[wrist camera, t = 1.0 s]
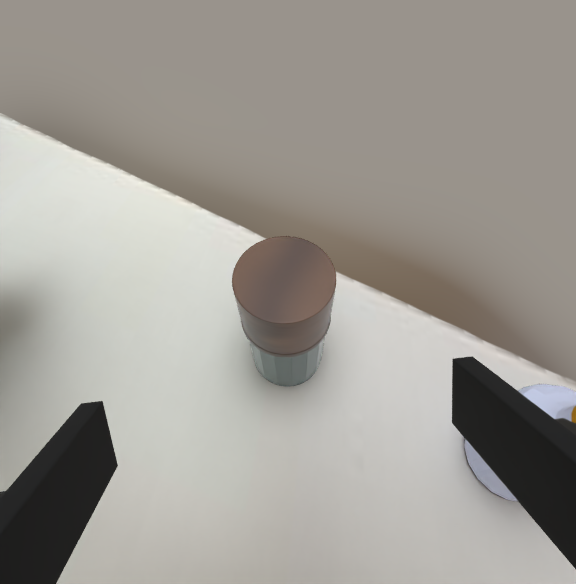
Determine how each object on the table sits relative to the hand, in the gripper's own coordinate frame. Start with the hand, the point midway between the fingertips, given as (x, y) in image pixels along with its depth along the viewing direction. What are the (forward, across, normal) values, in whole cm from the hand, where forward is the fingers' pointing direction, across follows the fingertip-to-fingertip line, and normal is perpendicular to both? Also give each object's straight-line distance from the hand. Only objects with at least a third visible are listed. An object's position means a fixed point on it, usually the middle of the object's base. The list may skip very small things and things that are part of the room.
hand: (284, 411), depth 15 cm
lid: (+26, +1, -5) cm, 26 cm away
